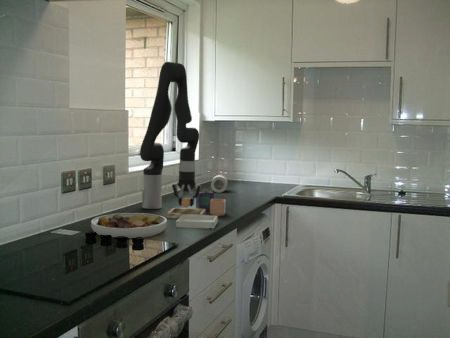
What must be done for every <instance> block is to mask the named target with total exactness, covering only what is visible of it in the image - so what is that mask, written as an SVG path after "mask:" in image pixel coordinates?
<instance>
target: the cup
mask: <svg viewBox="0 0 450 338" xmlns="http://www.w3.org/2000/svg"><path fill="white" fill-rule="evenodd" d="M209 214H210V216H218V217H222V216H225V215H226V199H225V198H214V199H211V200H210V210H209Z"/></svg>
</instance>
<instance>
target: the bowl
mask: <svg viewBox="0 0 450 338" xmlns="http://www.w3.org/2000/svg"><path fill="white" fill-rule="evenodd" d="M167 219H168V218H167V217H164V216H162V215H160V214H159V215H158V214H153V213H146V212H145V213H144V212H141V213H140V212H123V213H111V214H105V215H100V216H97V217H95V218H93V219H92V220H90V226H91V229H92V231H93V232H94V233H95V232H96V233H97V235H98V236H100V235H111V236H112V237H117V236H125V237H128V238H136V237H142V238H141V239H144V238H149V237H154V236H157V235H159V234H161V233H162V232H163V231H164V230H165V229H166V227H167V224H168V223H167V222H168V220H167ZM96 233H95V234H96Z"/></svg>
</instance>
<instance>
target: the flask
mask: <svg viewBox="0 0 450 338" xmlns="http://www.w3.org/2000/svg"><path fill="white" fill-rule="evenodd" d="M214 192H215V191H210V190H207V189H206V188H203V191H202V192H201V191H199V194H198V197H197V198H195V209H206V211H210V200H211V199H215V196H214V194H215V193H214Z"/></svg>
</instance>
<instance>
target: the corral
mask: <svg viewBox="0 0 450 338" xmlns="http://www.w3.org/2000/svg"><path fill="white" fill-rule="evenodd" d="M206 211H207V210H206V209H196V208H188V207H184V208H183V207H173V208H171V209H170V210H169V211H168V212H167V213H166V219H179V218H180V217H181V216H182V215H207V212H206ZM194 213H195V214H194Z"/></svg>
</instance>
